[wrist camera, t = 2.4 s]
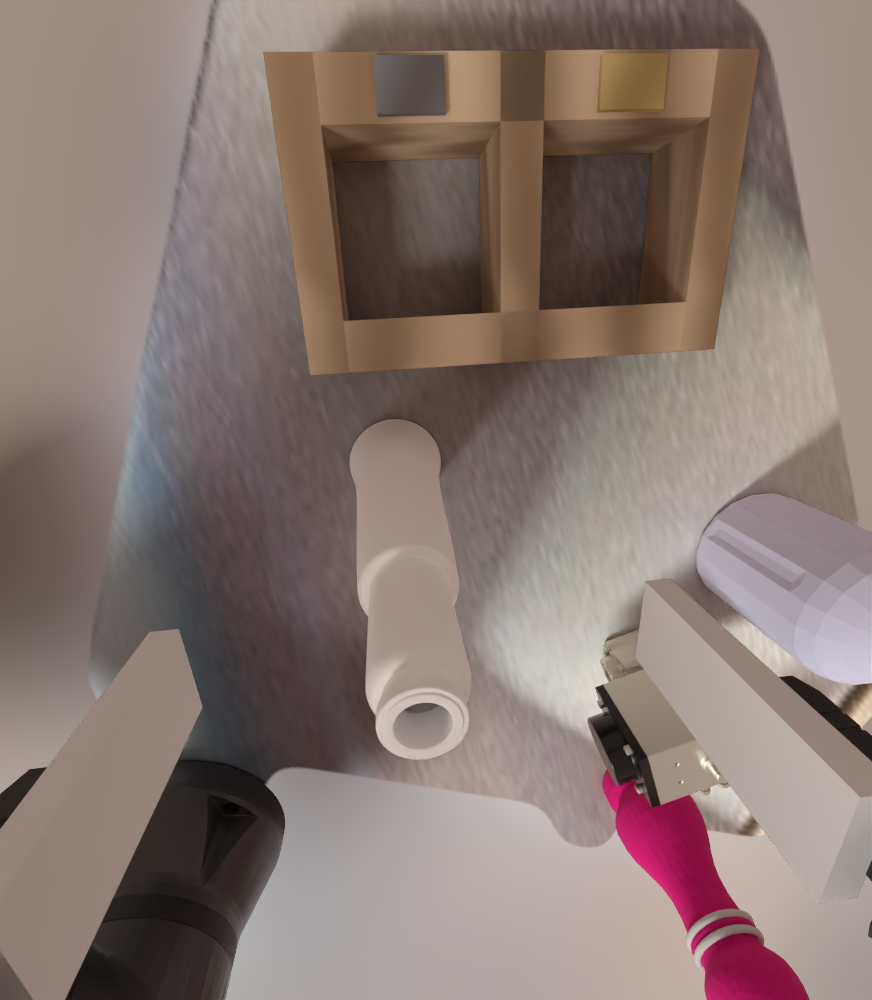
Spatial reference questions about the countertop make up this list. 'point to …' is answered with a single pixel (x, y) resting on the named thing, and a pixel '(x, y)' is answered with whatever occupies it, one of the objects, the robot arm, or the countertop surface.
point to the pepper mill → (700, 897)
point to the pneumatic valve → (646, 732)
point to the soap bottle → (796, 580)
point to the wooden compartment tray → (516, 188)
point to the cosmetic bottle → (409, 593)
